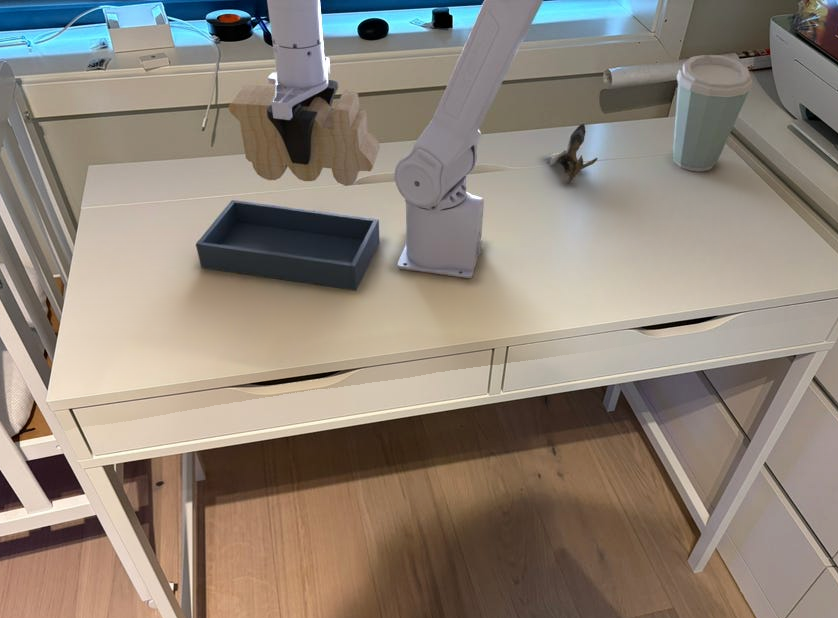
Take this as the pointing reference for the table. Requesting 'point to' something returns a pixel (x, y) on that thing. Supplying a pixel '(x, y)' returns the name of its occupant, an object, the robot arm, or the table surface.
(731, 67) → the disposable coffee cup
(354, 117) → the toy train
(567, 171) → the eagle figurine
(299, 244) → the open box
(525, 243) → the table surface
